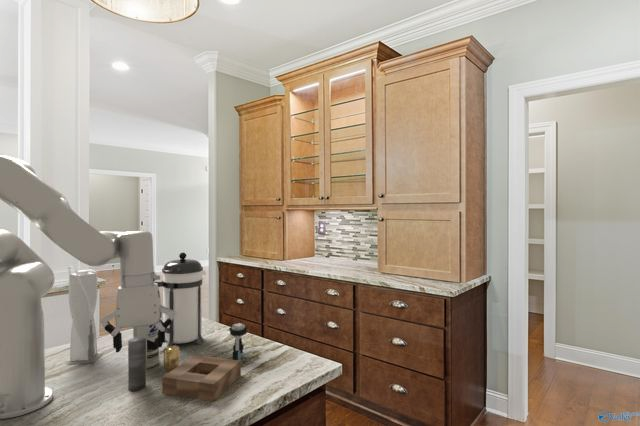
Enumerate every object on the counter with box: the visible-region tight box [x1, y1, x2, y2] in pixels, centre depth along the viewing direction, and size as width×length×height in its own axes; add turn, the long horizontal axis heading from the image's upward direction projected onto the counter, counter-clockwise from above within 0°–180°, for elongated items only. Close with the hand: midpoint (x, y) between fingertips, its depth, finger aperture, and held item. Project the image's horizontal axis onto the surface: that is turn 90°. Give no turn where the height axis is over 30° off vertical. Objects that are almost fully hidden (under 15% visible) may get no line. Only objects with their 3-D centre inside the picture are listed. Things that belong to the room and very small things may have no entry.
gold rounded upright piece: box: [163, 345, 180, 374], centre depth 106 cm, size 4×4×6 cm
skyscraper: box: [66, 265, 104, 365], centre depth 113 cm, size 8×8×28 cm
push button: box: [228, 322, 248, 361], centre depth 115 cm, size 7×5×10 cm
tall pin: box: [127, 337, 147, 392], centre depth 96 cm, size 4×4×12 cm
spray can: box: [132, 325, 160, 370], centre depth 109 cm, size 7×7×20 cm
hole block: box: [161, 354, 242, 402], centre depth 98 cm, size 14×14×4 cm
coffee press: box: [154, 252, 207, 347], centre depth 125 cm, size 17×16×30 cm
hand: (140, 347), depth 96 cm, fingers open, 9 cm apart
